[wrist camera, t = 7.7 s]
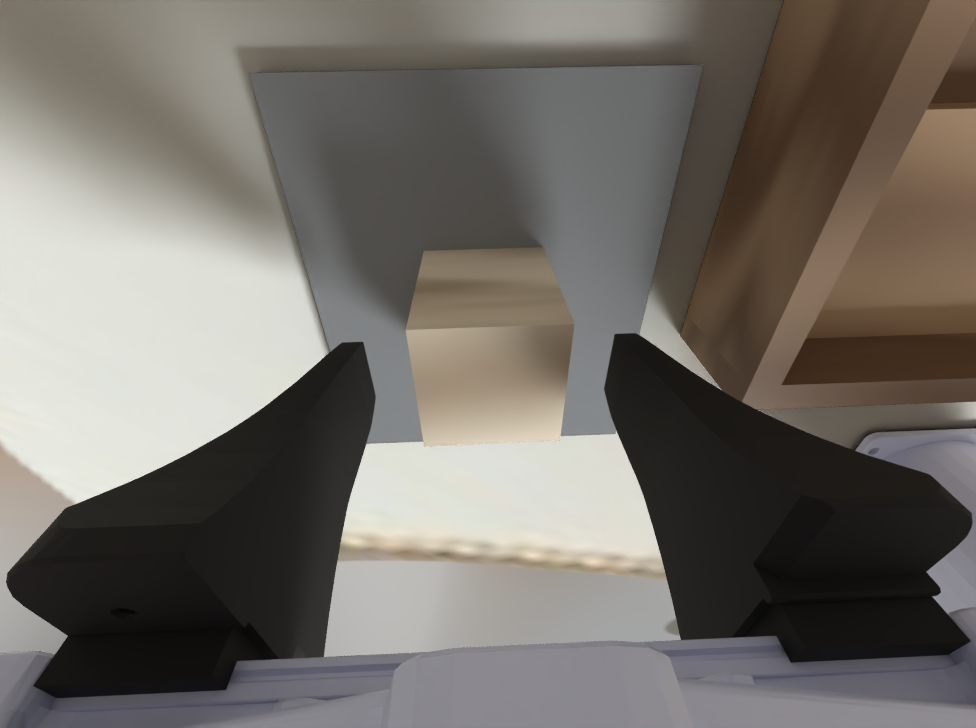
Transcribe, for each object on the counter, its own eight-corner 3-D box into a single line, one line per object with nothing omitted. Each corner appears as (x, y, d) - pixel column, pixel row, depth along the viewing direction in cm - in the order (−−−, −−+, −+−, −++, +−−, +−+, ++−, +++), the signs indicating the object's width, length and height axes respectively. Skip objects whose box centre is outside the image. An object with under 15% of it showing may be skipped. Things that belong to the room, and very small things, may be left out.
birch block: (536, 346, 16) (559, 440, 12) (435, 349, 16) (424, 446, 12) (543, 247, 14) (574, 324, 10) (423, 250, 14) (405, 330, 10)
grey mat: (611, 424, 20) (615, 434, 19) (360, 434, 20) (357, 444, 19) (693, 64, 11) (703, 65, 11) (257, 72, 11) (248, 73, 11)
